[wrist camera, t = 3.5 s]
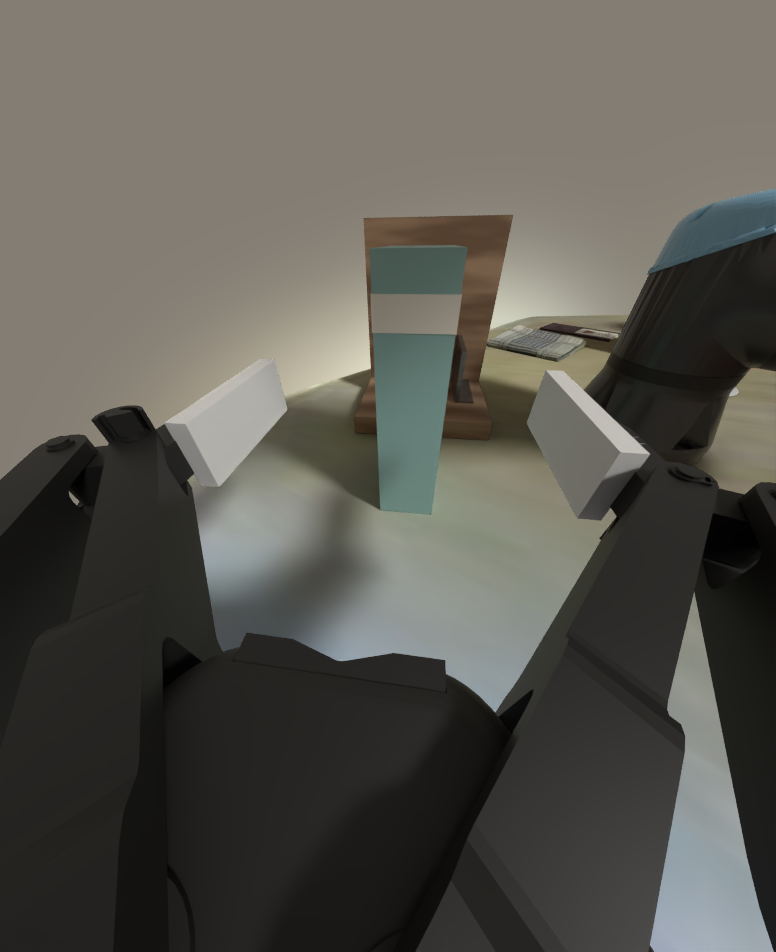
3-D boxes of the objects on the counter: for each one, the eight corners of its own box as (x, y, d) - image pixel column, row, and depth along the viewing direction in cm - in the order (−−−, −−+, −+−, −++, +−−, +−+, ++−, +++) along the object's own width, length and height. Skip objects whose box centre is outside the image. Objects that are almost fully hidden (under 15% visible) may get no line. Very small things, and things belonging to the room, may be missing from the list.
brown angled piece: (488, 440, 37) (552, 202, 22) (355, 432, 38) (333, 208, 24) (473, 386, 50) (506, 217, 36) (375, 382, 52) (369, 219, 37)
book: (431, 454, 34) (455, 245, 21) (431, 514, 27) (468, 246, 14) (391, 451, 35) (390, 245, 22) (379, 510, 27) (368, 248, 14)
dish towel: (557, 365, 60) (563, 349, 58) (484, 348, 70) (487, 334, 68) (587, 347, 70) (593, 333, 68) (519, 334, 80) (522, 322, 77)
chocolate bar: (553, 322, 86) (620, 333, 76) (552, 326, 86) (618, 337, 76) (540, 327, 81) (609, 339, 71) (539, 331, 82) (607, 343, 72)
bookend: (473, 403, 39) (484, 351, 35) (454, 402, 40) (462, 351, 35) (467, 379, 46) (475, 333, 42) (450, 379, 46) (457, 333, 42)
